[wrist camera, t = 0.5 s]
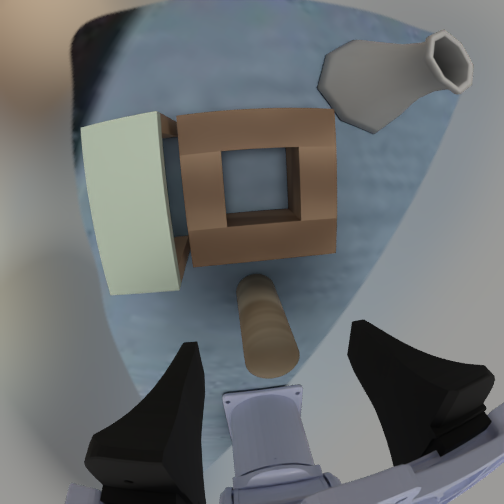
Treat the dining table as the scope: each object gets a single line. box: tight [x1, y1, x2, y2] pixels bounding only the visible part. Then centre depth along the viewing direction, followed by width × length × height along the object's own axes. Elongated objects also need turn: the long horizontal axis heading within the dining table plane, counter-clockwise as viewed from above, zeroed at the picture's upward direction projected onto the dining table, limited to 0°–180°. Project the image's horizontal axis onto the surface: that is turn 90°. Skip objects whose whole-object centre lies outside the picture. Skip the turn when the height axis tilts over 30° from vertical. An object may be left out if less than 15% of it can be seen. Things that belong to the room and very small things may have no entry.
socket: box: [177, 108, 337, 267], centre depth 18 cm, size 9×9×4 cm
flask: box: [318, 30, 474, 134], centre depth 13 cm, size 7×7×10 cm
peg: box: [236, 274, 299, 378], centre depth 19 cm, size 3×3×8 cm
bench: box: [81, 111, 190, 295], centre depth 16 cm, size 9×4×6 cm, turn 4°
